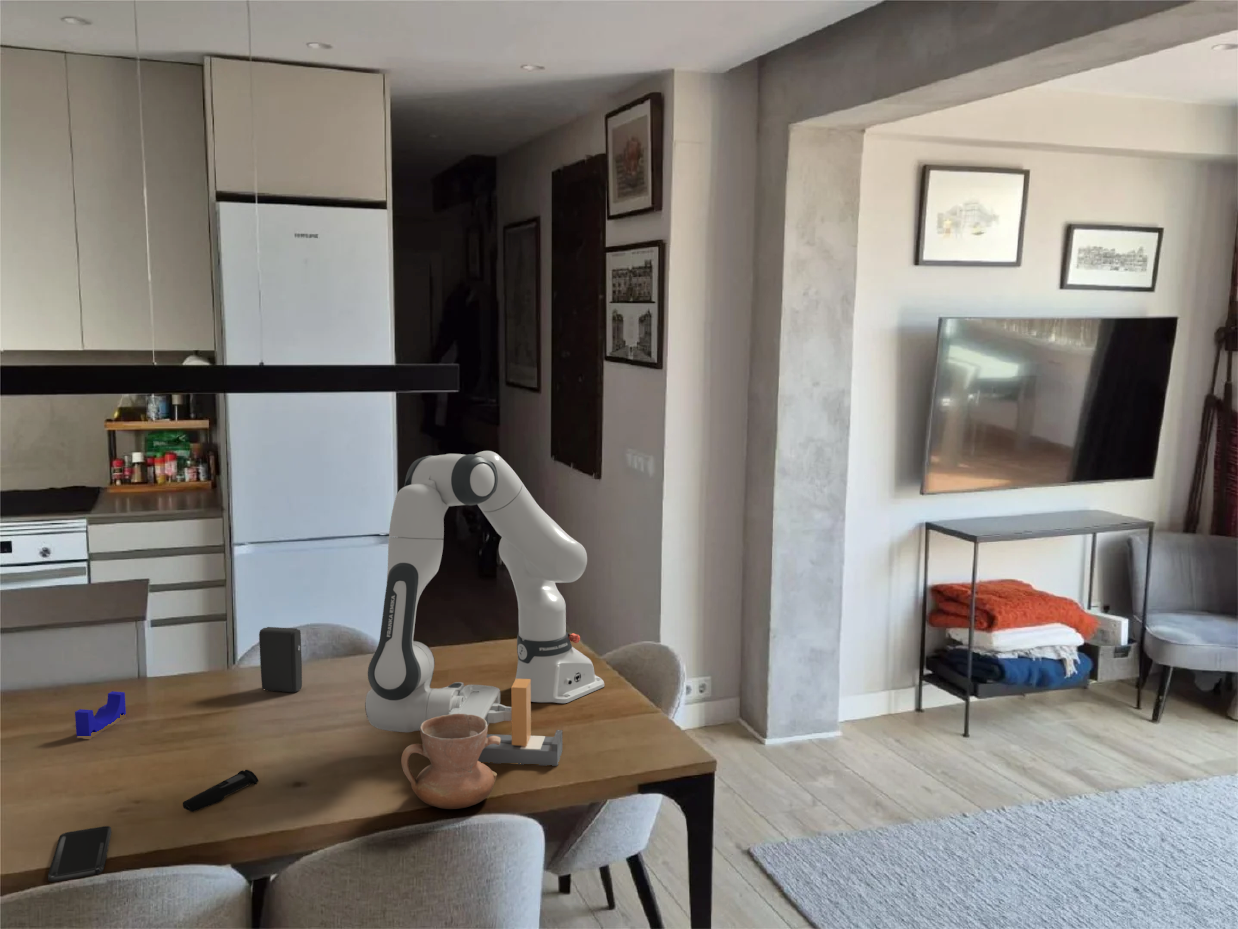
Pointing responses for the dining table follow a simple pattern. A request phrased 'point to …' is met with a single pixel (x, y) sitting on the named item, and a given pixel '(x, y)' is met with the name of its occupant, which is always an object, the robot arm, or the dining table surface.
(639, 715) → the dining table surface
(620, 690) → the dining table surface
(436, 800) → the ceramic jug
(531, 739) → the switch track
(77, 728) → the blue cradle holder
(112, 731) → the dining table surface
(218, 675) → the dining table surface
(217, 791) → the electric trimmer
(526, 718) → the switch tab
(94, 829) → the phone
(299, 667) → the dark grey upright block
